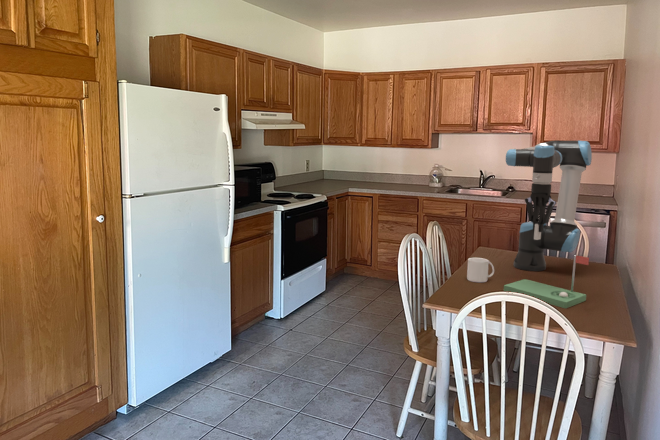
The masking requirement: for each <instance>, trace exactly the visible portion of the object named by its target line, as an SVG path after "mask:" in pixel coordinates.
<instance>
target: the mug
mask: <svg viewBox="0 0 660 440" xmlns="http://www.w3.org/2000/svg"><path fill="white" fill-rule="evenodd" d="M489 266H490V267H491V269H492V271H491V273H490V274H489ZM466 269H467V272H466V279H467V281H468V282H471V283H486V282H487V281H488V279H489V278H491V277H492V276H493V275H494V274H495V267H494V265H493V263H492V262H491V261H490V260H489V259H487V258H484V257H483V258H482V257H469V258H468V259H467V268H466Z"/></svg>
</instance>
